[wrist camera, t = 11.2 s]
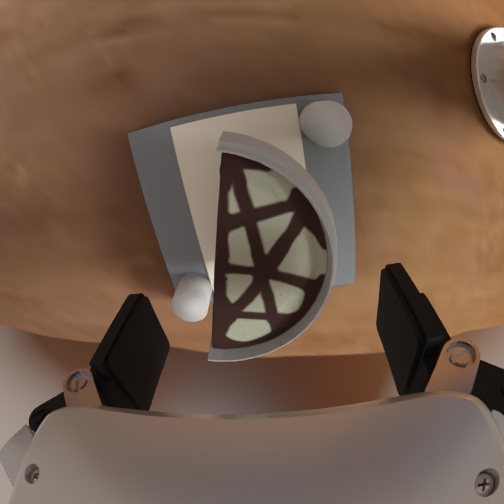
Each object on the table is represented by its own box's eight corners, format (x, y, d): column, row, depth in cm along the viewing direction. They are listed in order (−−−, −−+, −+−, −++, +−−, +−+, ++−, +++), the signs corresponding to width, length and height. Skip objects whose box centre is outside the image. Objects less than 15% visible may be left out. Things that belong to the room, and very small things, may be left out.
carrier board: (337, 93, 19) (355, 91, 15) (350, 273, 27) (364, 303, 23) (134, 131, 21) (109, 138, 17) (184, 297, 28) (174, 327, 24)
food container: (296, 281, 25) (313, 374, 16) (224, 274, 25) (207, 366, 16) (323, 133, 19) (376, 158, 10) (236, 122, 19) (216, 135, 10)
